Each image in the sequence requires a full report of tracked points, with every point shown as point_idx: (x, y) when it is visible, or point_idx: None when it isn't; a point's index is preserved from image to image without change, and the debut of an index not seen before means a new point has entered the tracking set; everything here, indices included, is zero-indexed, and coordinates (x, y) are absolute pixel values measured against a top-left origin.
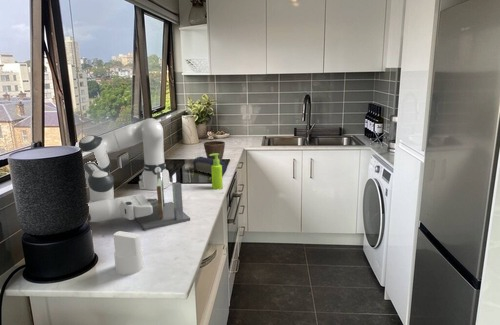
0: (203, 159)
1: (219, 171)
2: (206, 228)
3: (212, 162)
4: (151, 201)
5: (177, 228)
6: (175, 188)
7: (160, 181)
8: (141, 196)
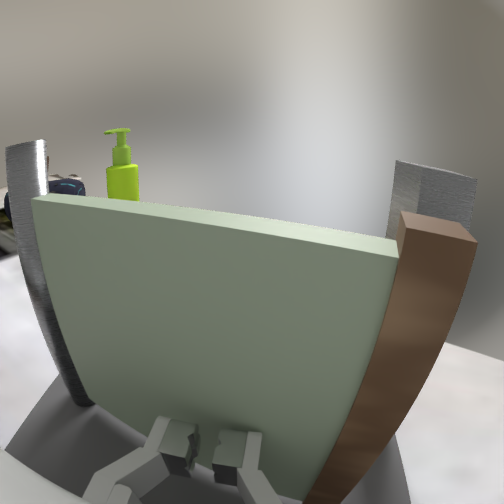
0: None
1: (137, 180)
2: (464, 354)
3: (57, 185)
4: (153, 476)
5: (450, 444)
6: (466, 211)
7: (111, 199)
8: (6, 486)
